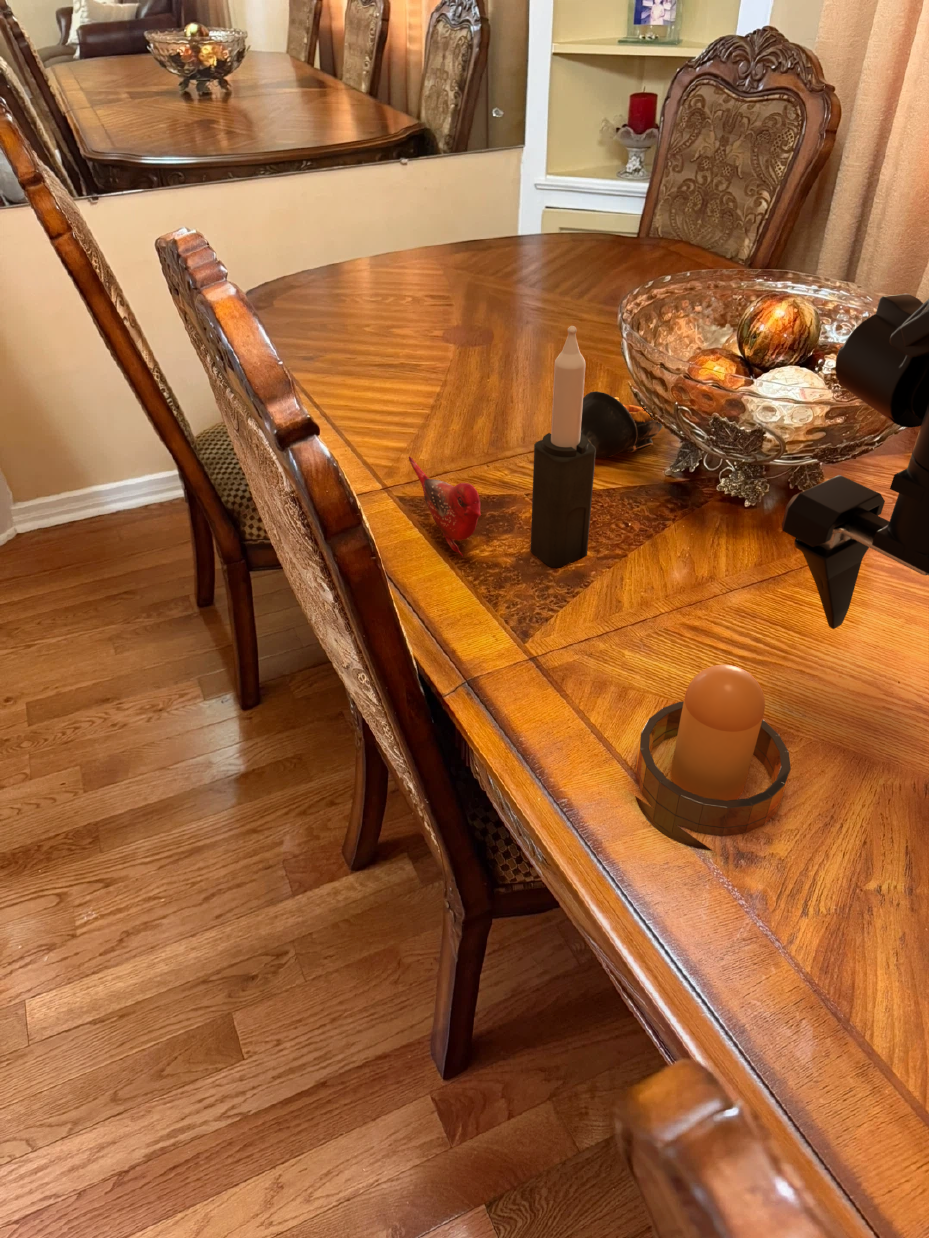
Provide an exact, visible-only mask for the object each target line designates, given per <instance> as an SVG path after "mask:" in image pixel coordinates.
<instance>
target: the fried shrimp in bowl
mask: <svg viewBox="0 0 929 1238" xmlns="http://www.w3.org/2000/svg"><path fill="white" fill-rule="evenodd" d="M643 408H644V407H643ZM643 408H642V406H637V405H633V404H623V403H622V402H621V401H620V398H619V397H615V396H612V395H611V394H609V393H606V392H602V391H597V390H596V391H590V392H587V394H585V395H584V396H583V407H582V421H581V434H583V435H585V436H586V437H587V439H588V443H590V444H591V445H593V446H594V447H595V448H596V456H595V458H601V459H602V458H603V459H605V458H606V459H607V458H611V457H613V456H615V455H618V454H620V453H621V452H628V453H634V452H637V451H641V450H643V449H645V448H648V447H651V446H653V444H654V442H653V440H652V439H653V438H654V437H655V436H657V435H658V434H659V433H660V432H661V430H662V429H663V426H662V424H661V423H658V422H656V420H654V419H653V418H651V417H650V415H649V414H648V413H649V412H646V411H644V409H643Z"/></svg>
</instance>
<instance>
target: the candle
mask: <svg viewBox="0 0 929 1238" xmlns="http://www.w3.org/2000/svg"><path fill="white" fill-rule="evenodd" d="M577 331H578V329H577V327H576V326H575V325H570V326H569V327H568V328H567V337H566V340H565V342H564V345H563V347H562V350H561V351H560V353H559V354H558V356H557V357H556V358H555V360H554V369H553V388H552V406H551V407H552V410H551V430H550V431H551V432H548V433H546V434H545V435H543V437H542V439H540V440H537V441H536V442H535V443H534V446H533V469H532V474H533V475H532V494H531V495H532V496H531V497H532V498H531V521H530V522H531V523H530V524H531V525H530V549H529V550H530V552H531V553H532V554H533V555H534V556H535V557H537V559H539V560H540V561H542V562H543V563H544V564H545V565H546V566H548V567H550V568H554V569H560V568H563V567H564V566H566V565H568V564H570V563H574V562H576V561H579V560H582V559H585V558H586V557H587V556H588V549H589V536H590V525H591V514H592V501H593V489H594V479H595V478H594V477H595V466H596V457H595V456H596V448H595V447H594V446H593V445H591V444H590V443H588V439H587V437H586V436H585V435H583V434H581V421H582V407H583V398H584V391H585V378H586V360H585V358H584V356H583V354H582V353H581V351H580V348H579V343H578V339H577V335H576V334H577Z"/></svg>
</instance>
